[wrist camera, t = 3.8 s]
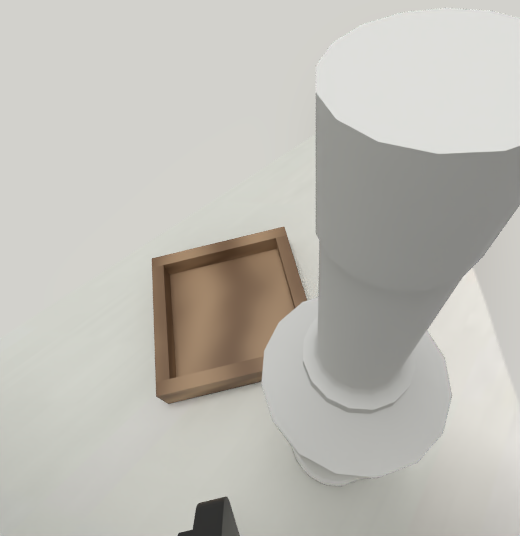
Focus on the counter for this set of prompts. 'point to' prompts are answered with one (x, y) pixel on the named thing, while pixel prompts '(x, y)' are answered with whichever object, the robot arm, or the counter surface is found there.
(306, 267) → the counter surface
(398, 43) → the bottle
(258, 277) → the walnut tray
